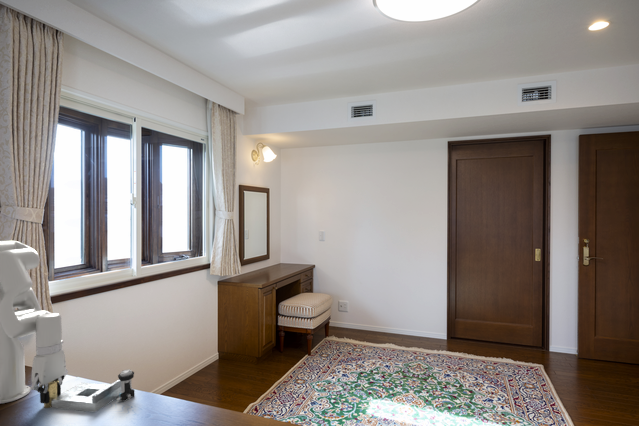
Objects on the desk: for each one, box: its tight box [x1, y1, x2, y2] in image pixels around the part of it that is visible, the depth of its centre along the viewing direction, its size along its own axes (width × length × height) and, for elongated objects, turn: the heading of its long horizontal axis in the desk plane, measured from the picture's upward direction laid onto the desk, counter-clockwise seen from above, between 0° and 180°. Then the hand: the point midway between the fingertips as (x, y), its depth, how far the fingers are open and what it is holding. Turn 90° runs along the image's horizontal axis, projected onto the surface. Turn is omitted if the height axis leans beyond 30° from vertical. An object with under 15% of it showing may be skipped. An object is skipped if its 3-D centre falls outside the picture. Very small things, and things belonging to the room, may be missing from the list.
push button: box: [116, 368, 136, 403], centre depth 138 cm, size 7×5×10 cm
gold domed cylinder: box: [43, 380, 57, 409], centre depth 135 cm, size 4×4×8 cm
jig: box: [51, 379, 121, 413], centre depth 138 cm, size 18×13×6 cm
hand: (50, 399), depth 135 cm, fingers closed on gold domed cylinder, 4 cm apart
